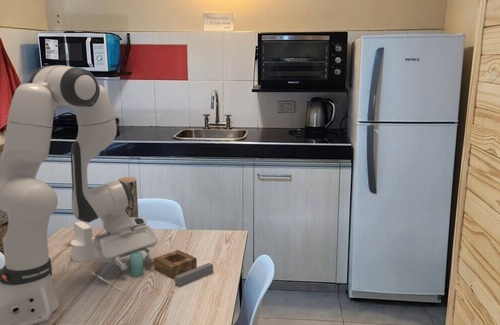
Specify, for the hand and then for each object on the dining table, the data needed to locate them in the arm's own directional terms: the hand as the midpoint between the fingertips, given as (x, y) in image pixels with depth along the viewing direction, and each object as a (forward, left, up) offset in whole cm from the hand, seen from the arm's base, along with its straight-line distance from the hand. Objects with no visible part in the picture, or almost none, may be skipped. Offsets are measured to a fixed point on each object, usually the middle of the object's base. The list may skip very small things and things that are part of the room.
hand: (137, 265), depth 152 cm
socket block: (+11, -5, -3) cm, 13 cm away
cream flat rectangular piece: (+11, -6, -4) cm, 14 cm away
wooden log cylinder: (+16, +31, -5) cm, 35 cm away
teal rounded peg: (0, +1, -4) cm, 5 cm away
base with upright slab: (-4, +29, -5) cm, 29 cm away
